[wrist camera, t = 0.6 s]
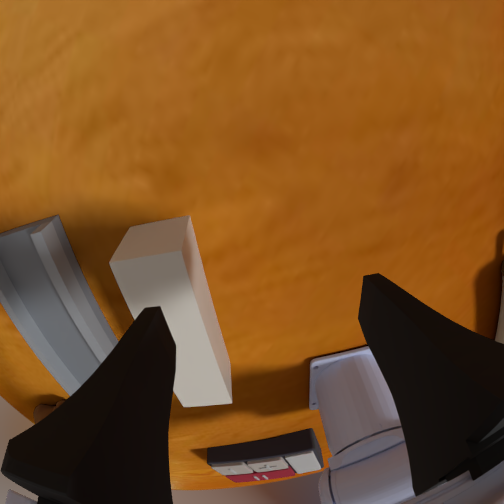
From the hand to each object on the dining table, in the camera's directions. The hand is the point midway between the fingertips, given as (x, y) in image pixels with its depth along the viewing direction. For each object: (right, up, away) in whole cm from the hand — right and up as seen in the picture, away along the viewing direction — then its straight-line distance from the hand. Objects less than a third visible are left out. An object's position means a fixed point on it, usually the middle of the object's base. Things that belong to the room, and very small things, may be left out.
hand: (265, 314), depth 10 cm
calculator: (+2, -27, +27) cm, 39 cm away
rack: (-16, -4, +11) cm, 20 cm away
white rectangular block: (-5, -2, +11) cm, 13 cm away
